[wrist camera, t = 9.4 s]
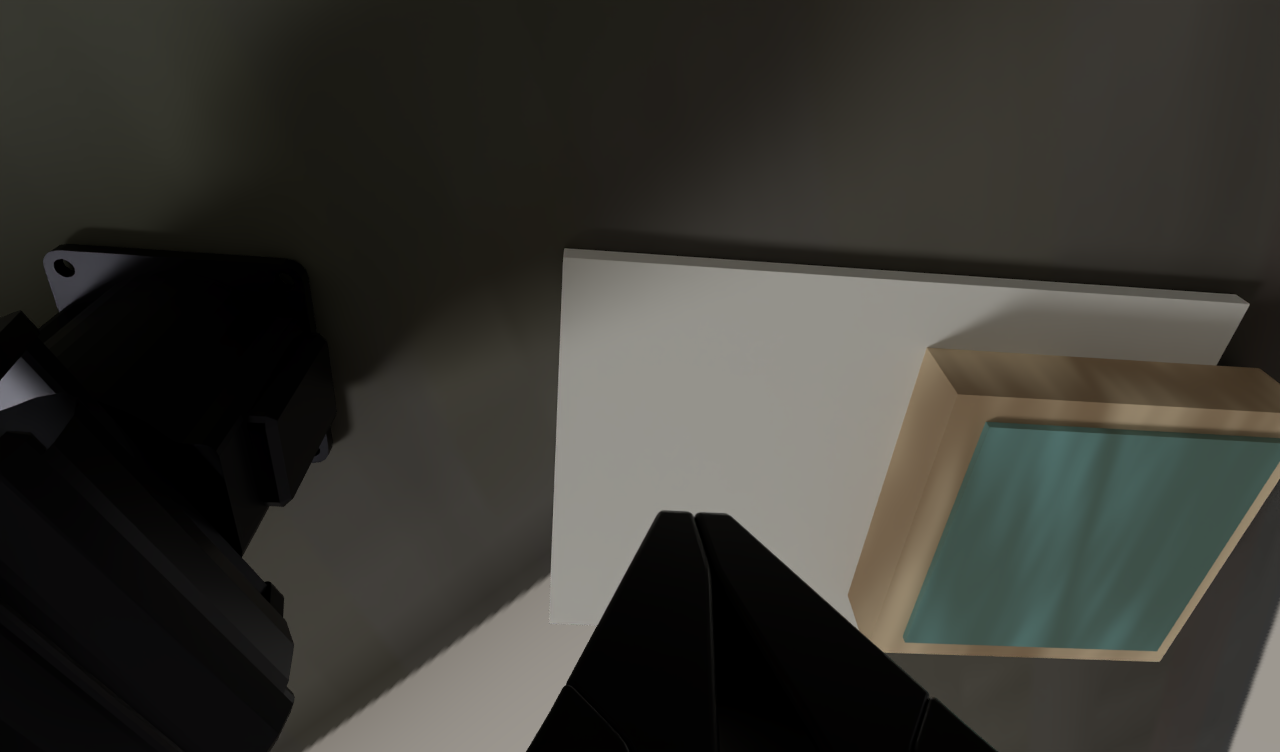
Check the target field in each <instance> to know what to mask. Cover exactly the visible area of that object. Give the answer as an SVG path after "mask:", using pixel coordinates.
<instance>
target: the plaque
mask: <svg viewBox="0 0 1280 752" xmlns="http://www.w3.org/2000/svg"><path fill="white" fill-rule="evenodd" d="M1279 479H1280V384H1279V383H1278V382H1277V381H1275V380H1274V379H1273V378H1271V377H1270V376H1269V375H1267V374H1266V373H1265V372H1264V371H1262V370H1261V369H1260V368H1248V367H1231V366H1215V365H1199V364H1183V363H1167V362H1151V361H1135V360H1119V359H1103V358H1087V357H1070V356H1054V355H1038V354H1022V353H1006V352H990V351H974V350H958V349H942V348H926V352H925V355H924V358H923V361H922V364H921V367H920V370H919V373H918V377H917V380H916V383H915V386H914V389H913V392H912V395H911V398H910V402H909V405H908V408H907V411H906V414H905V417H904V420H903V423H902V427H901V430H900V433H899V436H898V439H897V442H896V445H895V448H894V452H893V455H892V458H891V461H890V464H889V467H888V470H887V473H886V477H885V480H884V483H883V486H882V489H881V492H880V495H879V498H878V502H877V505H876V508H875V511H874V514H873V517H872V520H871V523H870V527H869V530H868V533H867V536H866V539H865V542H864V545H863V548H862V552H861V555H860V558H859V561H858V564H857V567H856V570H855V573H854V577H853V580H852V583H851V586H850V589H849V592H848V598H849V601H850V604H851V607H852V610H853V613H854V616H855V620H856V623H857V626H858V629H859V631H860V632H861V633H862V634H864V635H865V636H866V637H867V638H868V639H869V640H870V641H871V642H873V643H874V644H875V645H876V646H877V647H878V648H879V649H880V650H881V651H883V652H885V653H915V654H944V655H974V656H1004V657H1033V658H1063V659H1092V660H1122V661H1152V662H1160V660H1161V659H1162V657H1163V656H1164V654H1165V653H1166V651H1167V650H1168V648H1169V647H1170V645H1171V644H1172V642H1173V640H1174V639H1175V637H1176V636H1177V634H1178V633H1179V631H1180V630H1181V628H1182V627H1183V625H1184V624H1185V622H1186V621H1187V619H1188V618H1189V616H1190V615H1191V613H1192V612H1193V610H1194V608H1195V607H1196V605H1197V604H1198V602H1199V601H1200V599H1201V598H1202V596H1203V595H1204V593H1205V592H1206V590H1207V589H1208V587H1209V586H1210V584H1211V583H1212V581H1213V580H1214V578H1215V576H1216V575H1217V573H1218V572H1219V570H1220V569H1221V567H1222V566H1223V564H1224V563H1225V561H1226V560H1227V558H1228V557H1229V555H1230V554H1231V552H1232V551H1233V549H1234V548H1235V546H1236V544H1237V543H1238V541H1239V540H1240V538H1241V537H1242V535H1243V534H1244V532H1245V531H1246V529H1247V528H1248V526H1249V525H1250V523H1251V522H1252V520H1253V519H1254V517H1255V515H1256V514H1257V512H1258V511H1259V509H1260V508H1261V506H1262V505H1263V503H1264V502H1265V500H1266V499H1267V497H1268V496H1269V494H1270V493H1271V491H1272V490H1273V488H1274V487H1275V485H1276V483H1277V482H1278V480H1279Z"/></svg>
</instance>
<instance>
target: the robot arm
mask: <svg viewBox="0 0 1280 752" xmlns="http://www.w3.org/2000/svg"><path fill="white" fill-rule="evenodd" d="M63 260H67V261H68V262H70V263H71V264H72V265H73V267H74V268H75V271H74V270H71V269H69V268H68V267H66V266H65V264H64V263H63ZM43 264H44V269H45V272H46V275H47V278H48V281H49V284H50V287H51V290H52V293H53V296H54V299H55V302H56V305H57V308H58V311H59V313H58V314H56V315H55V316H54V317H53V318H51V319H50V320H49V321H47V322H46V323H45V324H44V325H42V326H41V327H40V328H39V329H38V328H37V327H36V326H35V325H34V324H33V323H32V322H31V321H30V320H29V319H28V318H27V316H26V315H25V314H24V313H23V312H22V311H21V310H19V311H16V312H14V313H11V314H9V315H7V316H4V317H2V318H0V752H270V751H271V749H272V748H273V746H274V745H275V743H276V742H277V740H278V738H279V736H280V734H281V732H282V729H283V727H284V725H285V723H286V721H287V719H288V717H289V715H290V713H291V710H292V707H293V703H294V698H295V697H294V695H293V693H292V692H291V691H290V690H289V689H288V688H287V687H286V686H287V684H288V681H289V675H290V668H291V662H292V655H293V649H294V643H293V640H292V637H291V634H290V631H289V628H288V625H287V622H286V620H285V619H284V618H283V609H284V597H283V595H282V594H281V593H280V592H279V591H278V590H277V589H276V587H275V586H274V585H273V584H272V583H271V582H269V581H267V582H264V581H263V580H262V579H261V578H260V577H259V576H258V575H257V574H256V573H255V572H254V570H253V569H252V568H251V567H250V566H249V565H248V564H247V563H246V562H245V561H244V560H243V559H242V556H243V554H244V553H245V551H246V549H247V547H248V545H249V543H250V541H251V540H252V538H253V536H254V534H255V532H256V530H257V529H258V527H259V525H260V523H261V521H262V519H263V517H264V516H265V514H266V512H267V510H268V508H269V506H280V507H284V506H285V505H286V504H287V503H288V502H290V501H291V500H292V499H293V498H294V496H295V494H296V492H297V490H298V488H299V486H300V484H301V482H302V480H303V478H304V476H305V474H306V472H307V470H308V468H309V466H310V464H311V463H316V462H321V461H323V460H325V459H326V458H327V456H328V455H329V453H330V450H331V448H332V443H333V442H332V435H331V428H330V425H331V423H332V421H333V419H334V417H335V415H336V412H337V410H336V402H335V395H334V388H333V381H332V373H331V366H330V359H329V352H328V345H327V341H326V340H325V339H324V338H323V337H322V336H321V335H320V334H319V333H317V332H316V325H315V318H314V311H313V304H312V297H311V291H310V284H309V277H308V274H307V272H306V270H305V269H304V267H303V266H302V265H301V264H299V263H298V262H296V261H294V260H290V259H285V258H269V257H254V256H239V255H224V254H209V253H194V252H179V251H164V250H149V249H134V248H119V247H104V246H89V245H74V244H64V245H59V246H58V247H56V248H55V249H53V250H52V251H50V252H49V253H47V254H46V255H45V257H44V259H43ZM282 273H283V274H286V275H289V276H290V277H291V278H292V279H293V281H294V284H292V285H290V284H286V283H285V282H283V281H282V280H281V278H280V276H279V274H282ZM928 699H929V700H928ZM526 752H998V751H996V750H995V749H994V748H993V747H992V746H991V745H989V744H988V743H987V742H986V741H985V740H984V739H982V738H981V737H980V736H979V735H978V734H977V733H975V732H974V731H973V730H972V729H971V728H970V727H968V726H967V725H966V724H965V723H964V722H963V721H961V720H960V719H959V718H958V717H957V716H956V715H955V714H954V713H953V712H951V711H950V710H949V709H948V708H947V707H946V706H945V705H944V704H942V703H941V702H940V701H939V700H938V699H937V698H935V697H930V698H929V694H928V692H927V691H926V690H925V689H924V688H923V687H922V686H921V685H919V684H918V683H917V682H916V681H915V680H914V679H913V678H912V677H910V676H909V675H908V674H907V673H906V672H905V671H904V670H903V669H902V668H900V667H899V666H898V665H897V664H896V663H895V662H894V661H893V660H891V659H890V658H889V657H888V656H887V655H886V654H885V653H884V652H883V651H881V650H880V649H879V648H878V647H877V646H876V645H875V644H874V643H873V642H871V641H870V640H869V639H868V638H867V637H866V636H865V635H864V634H862V633H861V632H860V631H859V630H858V629H857V628H856V627H855V626H854V625H852V624H851V623H850V622H849V621H848V620H847V619H846V618H845V617H843V616H842V615H841V614H840V613H839V612H838V611H837V610H836V609H835V608H833V607H832V606H831V605H830V604H829V603H828V602H827V601H826V600H825V599H823V598H822V597H821V596H820V595H819V594H818V593H817V592H816V591H814V590H813V589H812V588H811V587H810V586H809V585H808V584H807V583H806V582H804V581H803V580H802V579H801V578H800V577H799V576H798V575H797V574H795V573H794V572H793V571H792V570H791V569H790V568H789V567H788V566H787V565H785V564H784V563H783V562H782V561H781V560H780V559H779V558H778V557H777V556H775V555H774V554H773V553H772V552H771V551H770V550H769V549H768V548H766V547H765V546H764V545H763V544H762V543H761V542H760V541H759V540H758V539H756V538H755V537H754V536H753V535H752V534H751V533H750V532H749V531H747V530H746V529H745V528H744V527H743V526H742V525H741V524H740V523H739V522H737V521H736V520H735V519H734V518H733V517H732V516H730V515H728V514H726V513H712V512H698V513H696V514H695V516H693V514H692V513H691V512H688V511H671V510H662V511H660V512H659V513H658V514H657V515H656V517H655V519H654V521H653V523H652V524H651V526H650V528H649V530H648V532H647V534H646V536H645V538H644V539H643V541H642V543H641V545H640V547H639V549H638V551H637V552H636V554H635V556H634V558H633V560H632V562H631V564H630V565H629V567H628V569H627V571H626V573H625V575H624V577H623V578H622V580H621V582H620V584H619V586H618V588H617V590H616V591H615V593H614V595H613V597H612V599H611V601H610V603H609V605H608V606H607V608H606V610H605V612H604V614H603V616H602V618H601V619H600V621H599V623H598V625H597V627H596V629H595V631H594V632H593V634H592V636H591V638H590V640H589V642H588V644H587V645H586V647H585V649H584V651H583V653H582V655H581V657H580V658H579V660H578V662H577V664H576V666H575V668H574V670H573V672H572V674H571V675H570V677H569V679H568V681H567V683H566V686H564V687H563V689H562V690H561V692H560V694H559V696H558V698H557V699H556V702H555V703H554V705H553V707H552V709H551V711H550V712H549V714H548V716H547V717H546V719H545V721H544V723H543V724H542V726H541V728H540V729H539V731H538V733H537V734H536V736H535V738H534V739H533V741H532V743H531V745H530V746H529V748H528V749H527V751H526Z"/></svg>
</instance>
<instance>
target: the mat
mask: <svg viewBox="0 0 1280 752" xmlns="http://www.w3.org/2000/svg"><path fill="white" fill-rule="evenodd" d="M1249 305H1250V304H1249V303H1248V302H1246V301H1245V300H1243V299H1242V298H1240V297H1239V296H1237V295H1236V294H1221V293H1207V292H1192V291H1178V290H1163V289H1149V288H1134V287H1120V286H1105V285H1091V284H1076V283H1062V282H1047V281H1033V280H1018V279H1004V278H989V277H975V276H960V275H946V274H931V273H917V272H902V271H888V270H873V269H859V268H844V267H830V266H815V265H801V264H786V263H772V262H757V261H743V260H728V259H714V258H700V257H685V256H671V255H656V254H642V253H627V252H613V251H598V250H584V249H569V248H564V255H563V275H562V301H561V327H560V352H559V378H558V403H557V429H556V454H555V480H554V506H553V531H552V557H551V582H550V608H549V609H550V610H549V624H571V625H598V623H599V621H600V619H601V618H602V616H603V614H604V612H605V610H606V608H607V606H608V605H609V603H610V601H611V599H612V597H613V595H614V593H615V591H616V590H617V588H618V586H619V584H620V582H621V580H622V578H623V577H624V575H625V573H626V571H627V569H628V567H629V565H630V564H631V562H632V560H633V558H634V556H635V554H636V552H637V551H638V549H639V547H640V545H641V543H642V541H643V539H644V538H645V536H646V534H647V532H648V530H649V528H650V526H651V524H652V523H653V521H654V519H655V517H656V515H657V514H658V513H659V512H660V511H662V510H671V511H688V512H691V513H692V514H693V516H695V514H696V513H698V512H712V513H726V514H728V515H730V516H732V517H733V518H734V519H735V520H736V521H737V522H739V523H740V524H741V525H742V526H743V527H744V528H745V529H746V530H747V531H749V532H750V533H751V534H752V535H753V536H754V537H755V538H756V539H758V540H759V541H760V542H761V543H762V544H763V545H764V546H765V547H766V548H768V549H769V550H770V551H771V552H772V553H773V554H774V555H775V556H777V557H778V558H779V559H780V560H781V561H782V562H783V563H784V564H785V565H787V566H788V567H789V568H790V569H791V570H792V571H793V572H794V573H795V574H797V575H798V576H799V577H800V578H801V579H802V580H803V581H804V582H806V583H807V584H808V585H809V586H810V587H811V588H812V589H813V590H814V591H816V592H817V593H818V594H819V595H820V596H821V597H822V598H823V599H825V600H826V601H827V602H828V603H829V604H830V605H831V606H832V607H833V608H835V609H836V610H837V611H838V612H839V613H840V614H841V615H842V616H843V617H845V618H846V619H847V620H848V621H849V622H850V623H851V624H852V625H854V626H855V627H856V628H857V629H858V626H857V623H856V620H855V616H854V613H853V610H852V607H851V604H850V601H849V598H848V592H849V589H850V586H851V583H852V580H853V577H854V573H855V570H856V567H857V564H858V561H859V558H860V555H861V552H862V548H863V545H864V542H865V539H866V536H867V533H868V530H869V527H870V523H871V520H872V517H873V514H874V511H875V508H876V505H877V502H878V498H879V495H880V492H881V489H882V486H883V483H884V480H885V477H886V473H887V470H888V467H889V464H890V461H891V458H892V455H893V452H894V448H895V445H896V442H897V439H898V436H899V433H900V430H901V427H902V423H903V420H904V417H905V414H906V411H907V408H908V405H909V402H910V398H911V395H912V392H913V389H914V386H915V383H916V380H917V377H918V373H919V370H920V367H921V364H922V361H923V358H924V355H925V352H926V348H942V349H958V350H974V351H990V352H1006V353H1022V354H1038V355H1054V356H1070V357H1087V358H1103V359H1119V360H1135V361H1151V362H1167V363H1183V364H1199V365H1215V366H1216V365H1217V363H1218V362H1219V360H1220V358H1221V356H1222V354H1223V353H1224V351H1225V349H1226V347H1227V345H1228V343H1229V342H1230V340H1231V338H1232V336H1233V334H1234V333H1235V331H1236V329H1237V327H1238V325H1239V323H1240V322H1241V320H1242V318H1243V316H1244V314H1245V313H1246V311H1247V309H1248V307H1249ZM858 630H859V629H858Z"/></svg>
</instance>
